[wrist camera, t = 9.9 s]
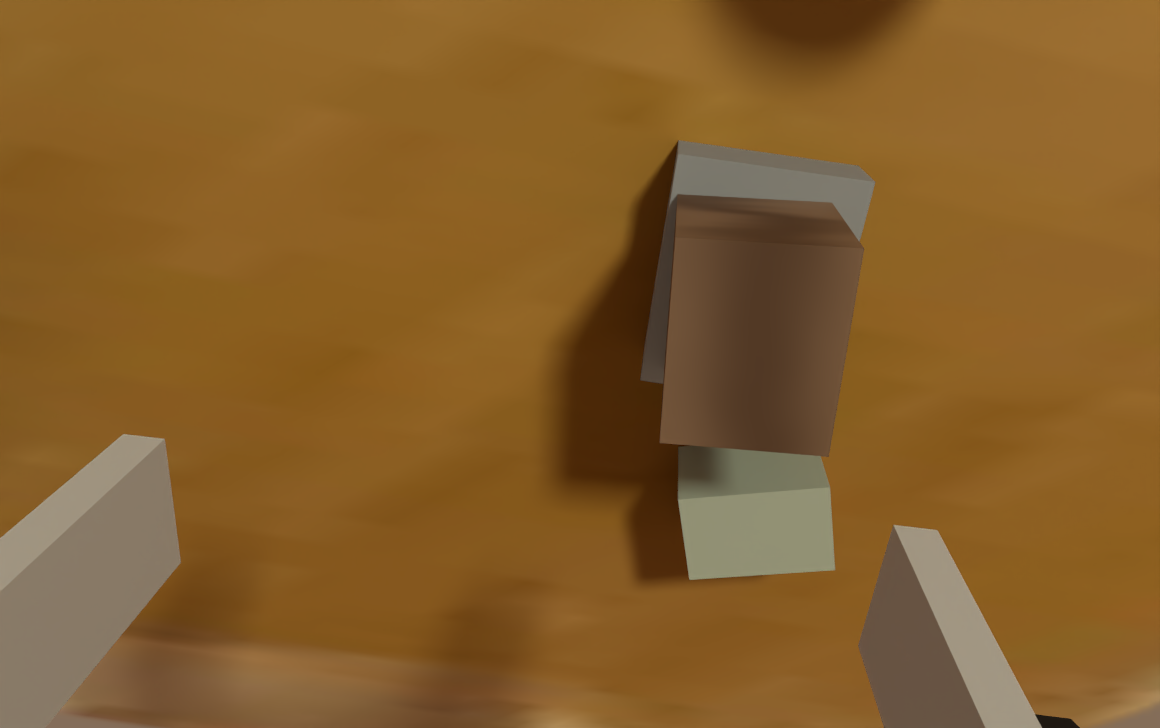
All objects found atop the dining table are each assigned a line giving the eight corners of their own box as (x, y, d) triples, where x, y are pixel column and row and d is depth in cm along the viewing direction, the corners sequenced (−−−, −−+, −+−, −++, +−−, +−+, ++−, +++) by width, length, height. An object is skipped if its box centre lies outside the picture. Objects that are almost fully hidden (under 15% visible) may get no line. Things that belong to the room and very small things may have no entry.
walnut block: (663, 369, 33) (659, 443, 28) (677, 194, 31) (675, 237, 25) (805, 380, 33) (828, 456, 27) (832, 202, 30) (864, 248, 25)
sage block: (688, 519, 40) (689, 579, 36) (678, 445, 38) (677, 499, 34) (818, 509, 39) (835, 570, 35) (813, 433, 37) (829, 487, 33)
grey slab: (644, 347, 37) (640, 380, 34) (678, 138, 33) (678, 153, 30) (804, 372, 37) (815, 407, 33) (856, 164, 33) (875, 181, 30)
